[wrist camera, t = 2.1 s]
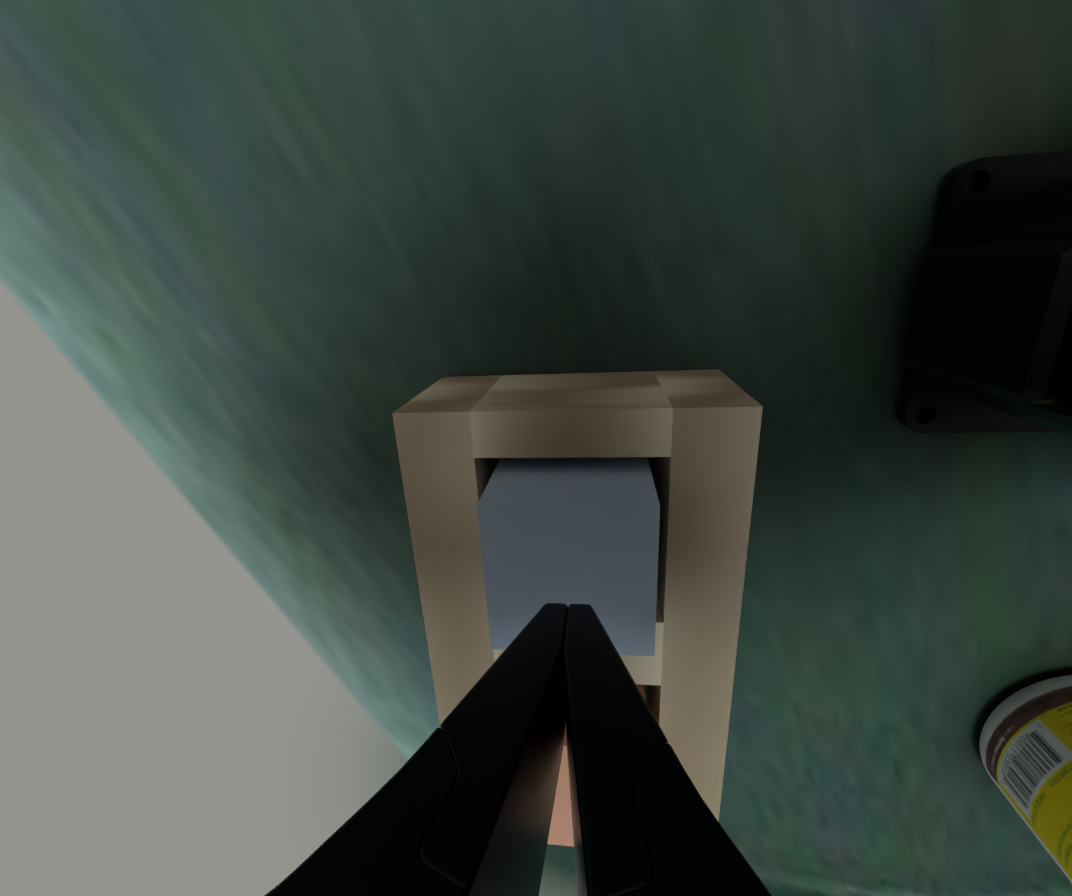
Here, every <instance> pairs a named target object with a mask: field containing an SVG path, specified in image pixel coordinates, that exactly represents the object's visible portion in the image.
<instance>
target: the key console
mask: <svg viewBox="0 0 1072 896" xmlns="http://www.w3.org/2000/svg"><path fill="white" fill-rule="evenodd" d="M762 410H763V406H762V405H760V404H759V403H758V402H757V401H756V400H754V399H753V398H752V397H751V396H750V395H748V394H747V393H746V392H745V391H744V390H743V389H741V388H740V387H739V386H738V385H737V384H735V383H734V382H733V381H732V380H731V379H730V378H728V377H727V376H726V375H725V374H724V373H722V372H721V371H720V370H719V369H713V370H676V371H639V372H602V373H565V374H528V375H491V376H455V377H442V378H441V379H440V380H438V381H437V382H435V383H434V384H433V385H431V386H430V387H428V388H427V389H425V390H424V391H423V392H421V393H420V394H418V395H417V396H416V397H414V398H413V399H411V400H410V401H408V402H407V403H406V404H404V405H403V406H401V407H400V408H399V409H397V410H396V411H394V412H393V413H392V416H393V423H394V429H395V436H396V442H397V449H398V455H399V462H400V468H401V475H402V481H403V488H404V494H405V501H406V507H407V514H408V520H409V527H410V533H411V540H412V546H413V553H414V559H415V566H416V572H417V579H418V585H419V592H420V598H421V605H422V611H423V618H424V624H425V631H426V637H427V644H428V650H429V657H430V663H431V670H432V676H433V683H434V689H435V696H436V702H437V709H438V715H439V722H440V725H441V723H442V722H443V721H444V720H445V719H446V717H447V716H448V715H449V714H450V713H451V712H452V711H453V709H454V708H455V707H456V706H457V705H458V704H459V702H460V701H461V700H462V699H463V698H464V697H465V696H466V694H467V693H468V692H469V691H470V690H471V689H472V687H473V686H474V685H475V684H476V683H477V682H478V680H479V679H480V678H481V677H482V676H483V675H484V674H485V672H486V671H487V670H488V669H489V668H490V667H491V665H492V664H493V663H494V662H495V661H496V660H497V659H498V657H499V656H500V655H501V654H502V653H503V652H504V650H499V649H491V642H490V632H489V622H488V612H487V602H486V592H485V582H484V572H483V562H482V552H481V543H480V533H479V523H478V513H477V504H478V502H479V500H480V498H481V496H482V494H483V492H484V490H485V488H486V486H487V484H488V482H489V480H490V478H491V476H492V474H493V472H494V470H495V468H496V466H497V464H498V462H499V460H500V459H501V458H575V457H651V466H650V469H651V473H652V477H653V481H654V485H655V489H656V492H657V496H658V500H659V504H660V524H659V550H658V577H657V604H656V631H655V656H634V655H620V657H621V659H622V660H623V662H624V664H625V666H626V667H627V669H628V671H629V673H630V674H631V676H632V678H633V680H634V682H635V683H636V684H640V685H644V692H645V701H646V703H647V705H648V706H649V708H650V710H651V712H652V713H653V715H654V717H655V719H656V721H657V722H658V724H659V726H660V728H661V729H662V731H663V733H664V735H665V736H666V738H667V740H668V744H670V745H671V747H672V748H673V750H674V752H675V754H676V755H677V757H678V759H679V761H680V762H681V764H682V766H683V768H684V769H685V771H686V773H687V774H688V776H689V777H690V779H691V781H692V782H693V784H694V786H695V787H696V789H697V791H698V792H699V794H700V796H701V797H702V799H703V800H704V802H705V803H706V804H707V806H708V807H709V809H710V810H711V812H712V813H713V815H714V816H715V817H716V819H717V820H718V822H719V812H720V803H721V793H722V784H723V775H724V765H725V756H726V747H727V737H728V728H729V719H730V709H731V700H732V690H733V681H734V672H735V662H736V653H737V644H738V634H739V625H740V616H741V606H742V597H743V587H744V578H745V569H746V559H747V550H748V541H749V531H750V522H751V513H752V503H753V494H754V484H755V475H756V466H757V456H758V447H759V438H760V428H761V419H762Z"/></svg>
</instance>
